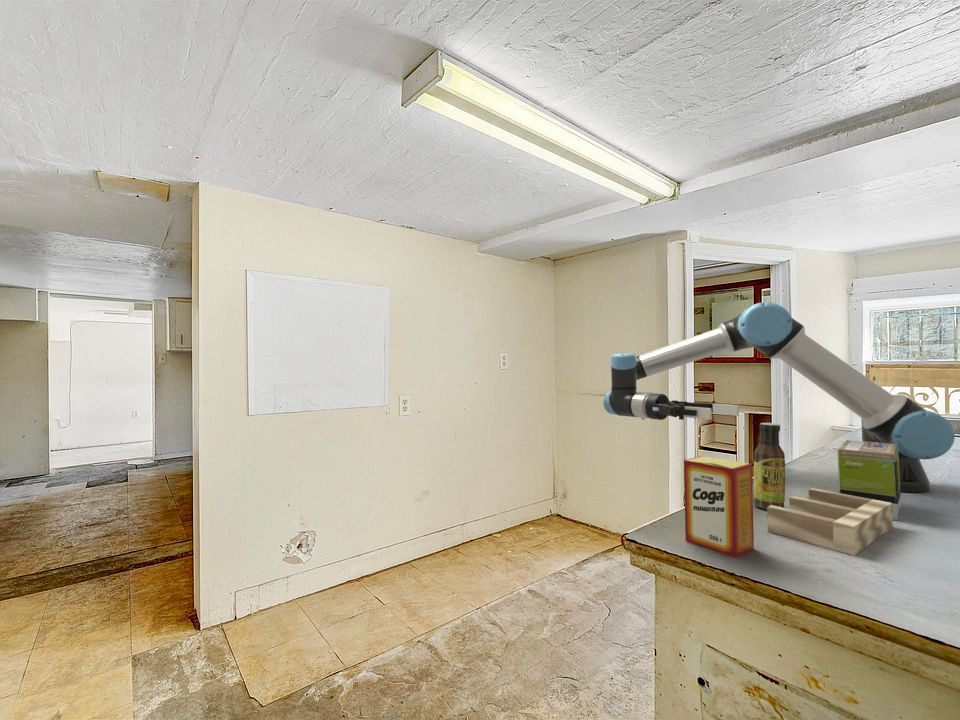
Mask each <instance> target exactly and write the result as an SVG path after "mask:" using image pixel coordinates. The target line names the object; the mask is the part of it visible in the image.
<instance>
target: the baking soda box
mask: <svg viewBox="0 0 960 720" xmlns="http://www.w3.org/2000/svg"><path fill="white" fill-rule="evenodd" d="M683 474H684V475H683V476H684V477H683V480H684V481H683V482H684V483H683V484H684V522H685V523H684V524H685V525H684V526H685V527H684V530H685V535H684V537H685V541H686V542H688V543H691V544H695V545H698V546H700V547H702V548H706V549H709V550H712V551H715V552H718V553H721V554H724V555H727V556H730V557H732V558H738V557H740V556H742V555H744V554H746V553H748V552H751V551H752V550H754V549H755V543H754V542H755V540H754V537H755V536H754V535H755V533H754V532H755V531H754V505H753V504H754V485H753V464H752V463H749V462H744V461H743V462H741V461H737V460H733V459H726V458H724V459H722V458H717V457H716V458H715V457H709V456H705V455H701V456H696V457H691V458H687V459H684V460H683Z"/></svg>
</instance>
